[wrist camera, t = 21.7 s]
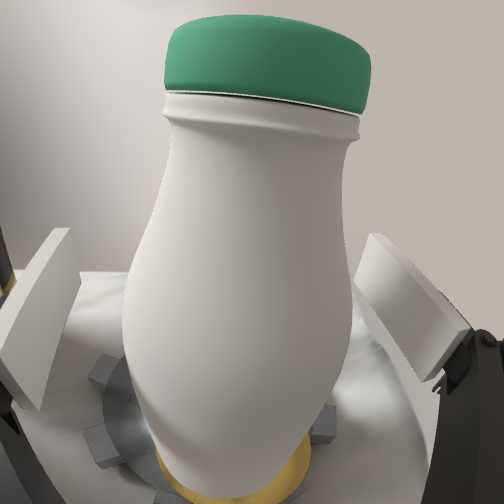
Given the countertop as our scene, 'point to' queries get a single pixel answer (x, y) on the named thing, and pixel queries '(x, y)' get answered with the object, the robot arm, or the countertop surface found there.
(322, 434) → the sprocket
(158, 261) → the milk bottle
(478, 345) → the robot arm
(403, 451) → the countertop surface
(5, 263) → the coffee can
